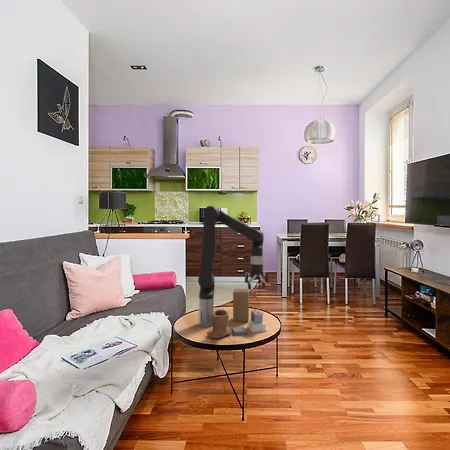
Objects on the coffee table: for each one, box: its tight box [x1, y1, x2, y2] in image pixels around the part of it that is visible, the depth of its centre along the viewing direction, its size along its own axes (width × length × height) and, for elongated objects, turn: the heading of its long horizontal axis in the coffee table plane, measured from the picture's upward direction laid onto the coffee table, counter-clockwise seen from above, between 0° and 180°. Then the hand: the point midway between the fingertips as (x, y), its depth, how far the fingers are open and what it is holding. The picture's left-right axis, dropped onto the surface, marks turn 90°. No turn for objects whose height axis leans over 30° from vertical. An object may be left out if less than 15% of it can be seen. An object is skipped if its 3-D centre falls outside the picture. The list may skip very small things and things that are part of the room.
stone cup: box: [206, 309, 233, 339], centre depth 202 cm, size 15×12×15 cm
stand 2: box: [246, 320, 267, 333], centre depth 214 cm, size 9×9×4 cm
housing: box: [250, 308, 264, 325], centre depth 213 cm, size 5×8×7 cm, turn 15°
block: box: [232, 288, 250, 323], centre depth 231 cm, size 10×10×20 cm
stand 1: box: [230, 326, 249, 336], centre depth 208 cm, size 8×8×2 cm
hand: (256, 289), depth 213 cm, fingers open, 8 cm apart
